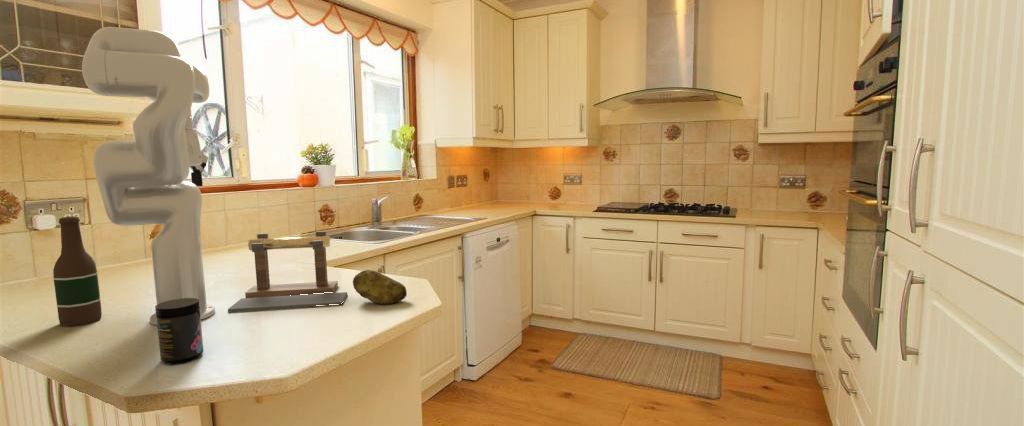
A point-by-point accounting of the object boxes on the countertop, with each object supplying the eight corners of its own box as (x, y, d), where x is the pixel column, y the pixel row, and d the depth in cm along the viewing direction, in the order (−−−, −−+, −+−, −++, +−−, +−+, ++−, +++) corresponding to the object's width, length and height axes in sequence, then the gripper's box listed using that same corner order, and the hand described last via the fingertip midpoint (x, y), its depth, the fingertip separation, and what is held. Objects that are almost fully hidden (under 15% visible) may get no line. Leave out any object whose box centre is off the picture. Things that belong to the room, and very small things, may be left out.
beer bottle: (109, 319, 114) (98, 215, 112) (66, 329, 108) (53, 220, 105) (95, 313, 118) (83, 214, 116) (52, 323, 112) (39, 218, 109)
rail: (328, 247, 134) (327, 236, 134) (248, 251, 130) (248, 239, 130) (330, 246, 137) (329, 235, 137) (252, 249, 133) (251, 238, 133)
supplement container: (190, 365, 88) (185, 308, 87) (151, 366, 88) (145, 309, 87) (211, 350, 95) (207, 297, 94) (175, 351, 95) (170, 298, 93)
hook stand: (333, 292, 134) (330, 234, 132) (245, 298, 130) (240, 237, 128) (337, 286, 140) (334, 230, 139) (254, 291, 137) (249, 233, 135)
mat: (342, 305, 123) (341, 301, 122) (228, 312, 118) (227, 309, 118) (347, 295, 131) (347, 292, 131) (241, 301, 127) (241, 298, 127)
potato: (389, 310, 118) (388, 277, 117) (348, 303, 124) (346, 272, 123) (410, 300, 126) (409, 269, 125) (370, 295, 131) (369, 265, 130)
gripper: (155, 121, 126) (162, 188, 127) (214, 125, 142) (219, 185, 144) (133, 122, 128) (140, 189, 129) (193, 127, 144) (199, 185, 146)
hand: (181, 187), depth 137 cm, fingers open, 9 cm apart
